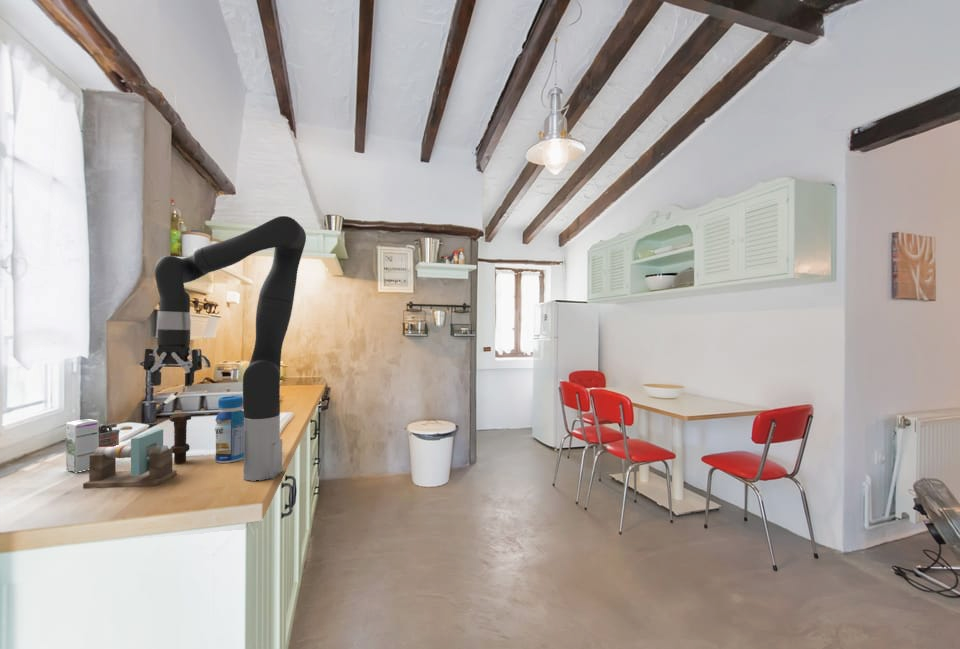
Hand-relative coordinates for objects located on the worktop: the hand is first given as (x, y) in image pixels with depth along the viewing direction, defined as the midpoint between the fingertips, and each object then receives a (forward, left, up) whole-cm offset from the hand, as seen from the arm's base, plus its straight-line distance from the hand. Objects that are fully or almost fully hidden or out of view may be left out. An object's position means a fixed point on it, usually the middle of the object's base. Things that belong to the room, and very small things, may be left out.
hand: (172, 385), depth 118 cm
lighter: (+36, -26, -27) cm, 51 cm away
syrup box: (+31, -11, -27) cm, 42 cm away
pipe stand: (+10, 0, -26) cm, 28 cm away
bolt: (+6, -15, -26) cm, 31 cm away
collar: (+6, 0, -23) cm, 24 cm away
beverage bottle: (-8, -17, -26) cm, 32 cm away
